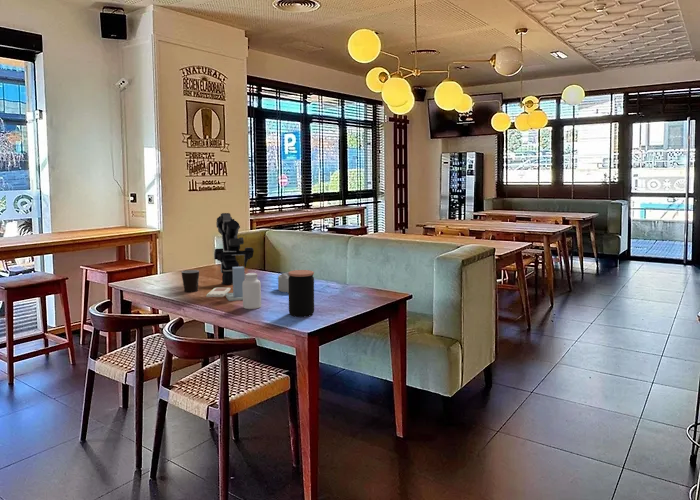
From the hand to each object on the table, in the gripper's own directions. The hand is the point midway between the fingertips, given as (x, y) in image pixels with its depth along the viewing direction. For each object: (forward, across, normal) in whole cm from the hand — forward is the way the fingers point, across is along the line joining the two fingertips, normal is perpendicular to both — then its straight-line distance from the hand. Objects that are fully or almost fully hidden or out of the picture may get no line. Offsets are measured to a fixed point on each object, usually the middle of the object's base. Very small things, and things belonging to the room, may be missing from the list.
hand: (235, 267), depth 271 cm
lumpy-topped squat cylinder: (+9, +27, +10) cm, 30 cm away
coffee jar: (+43, +20, -25) cm, 53 cm away
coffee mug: (-1, -20, +21) cm, 29 cm away
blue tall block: (+14, 0, +4) cm, 15 cm away
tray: (+15, 0, +4) cm, 15 cm away
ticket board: (+6, -8, +13) cm, 16 cm away
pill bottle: (+30, +3, -11) cm, 32 cm away
